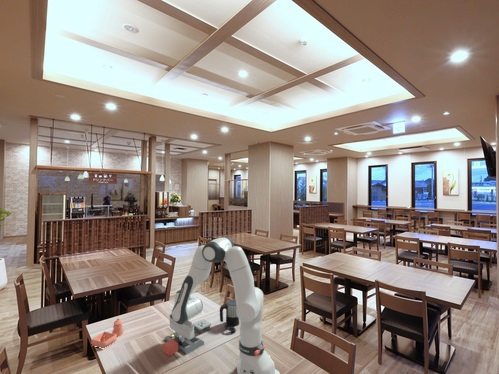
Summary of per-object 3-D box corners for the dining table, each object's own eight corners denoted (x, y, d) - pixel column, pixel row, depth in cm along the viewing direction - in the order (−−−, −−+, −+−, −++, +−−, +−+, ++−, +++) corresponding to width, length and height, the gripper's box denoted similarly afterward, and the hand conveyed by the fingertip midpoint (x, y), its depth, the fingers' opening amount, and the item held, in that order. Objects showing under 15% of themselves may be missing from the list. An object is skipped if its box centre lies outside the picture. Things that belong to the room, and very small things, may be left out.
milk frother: (235, 319, 183) (235, 298, 183) (247, 329, 170) (247, 306, 170) (217, 324, 176) (217, 302, 176) (228, 335, 162) (228, 311, 162)
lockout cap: (178, 351, 146) (178, 343, 146) (168, 356, 141) (168, 347, 141) (172, 347, 150) (172, 339, 150) (162, 351, 145) (162, 343, 145)
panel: (204, 344, 152) (204, 340, 153) (185, 354, 143) (185, 350, 143) (182, 331, 167) (182, 327, 167) (164, 339, 157) (164, 336, 157)
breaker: (182, 340, 153) (182, 335, 153) (178, 342, 151) (178, 337, 151) (179, 338, 155) (179, 333, 155) (175, 340, 153) (175, 335, 153)
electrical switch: (200, 329, 162) (192, 321, 168) (199, 336, 162) (191, 328, 169) (212, 323, 169) (203, 316, 175) (210, 331, 169) (202, 323, 176)
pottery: (103, 350, 147) (103, 332, 147) (91, 346, 150) (91, 329, 150) (127, 333, 164) (128, 318, 164) (116, 331, 167) (116, 315, 167)
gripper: (197, 321, 147) (196, 345, 147) (176, 310, 160) (176, 332, 160) (188, 325, 142) (187, 350, 142) (167, 313, 155) (167, 336, 155)
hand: (181, 340), depth 151 cm, fingers closed
